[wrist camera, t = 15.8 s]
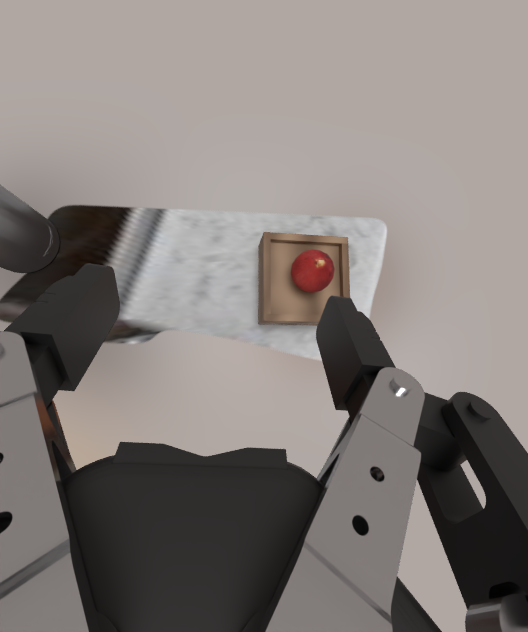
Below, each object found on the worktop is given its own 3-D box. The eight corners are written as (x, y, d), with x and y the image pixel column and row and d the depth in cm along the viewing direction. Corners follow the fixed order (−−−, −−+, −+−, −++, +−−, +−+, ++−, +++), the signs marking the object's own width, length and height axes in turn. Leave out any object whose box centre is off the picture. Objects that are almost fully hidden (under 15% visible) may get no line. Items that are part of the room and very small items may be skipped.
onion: (309, 253, 42) (326, 229, 35) (331, 283, 42) (354, 266, 34) (279, 273, 41) (289, 254, 34) (302, 304, 41) (318, 292, 33)
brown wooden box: (258, 324, 45) (263, 320, 39) (258, 247, 46) (263, 232, 40) (334, 325, 47) (350, 322, 41) (332, 251, 48) (347, 237, 42)
